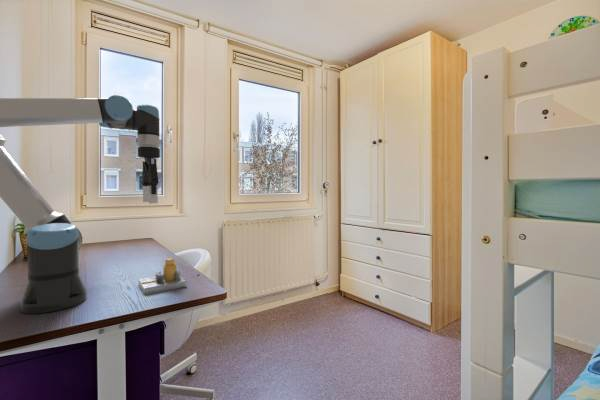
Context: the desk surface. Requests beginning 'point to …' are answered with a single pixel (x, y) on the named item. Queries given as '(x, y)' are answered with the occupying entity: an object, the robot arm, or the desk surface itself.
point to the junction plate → (161, 283)
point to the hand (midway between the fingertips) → (150, 202)
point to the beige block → (169, 269)
